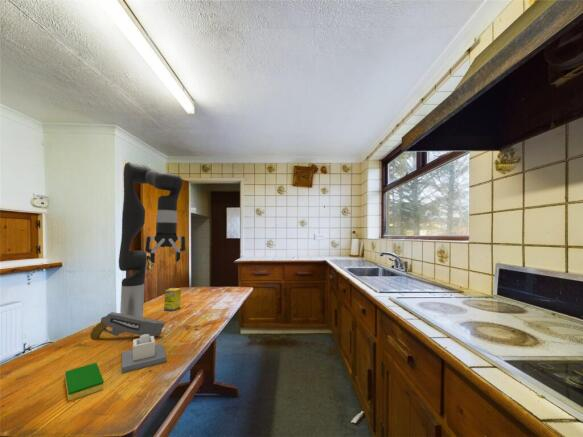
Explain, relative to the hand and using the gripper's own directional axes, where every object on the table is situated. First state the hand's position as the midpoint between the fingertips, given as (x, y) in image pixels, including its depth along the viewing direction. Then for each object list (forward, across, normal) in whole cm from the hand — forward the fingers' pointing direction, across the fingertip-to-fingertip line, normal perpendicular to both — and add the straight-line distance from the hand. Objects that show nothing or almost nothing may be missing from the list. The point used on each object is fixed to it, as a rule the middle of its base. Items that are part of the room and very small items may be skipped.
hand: (165, 262), depth 100 cm
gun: (+30, +12, -9) cm, 34 cm away
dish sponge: (+31, +22, +20) cm, 43 cm away
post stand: (+30, +7, +14) cm, 34 cm away
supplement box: (+30, -9, -41) cm, 52 cm away
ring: (+29, +7, +14) cm, 33 cm away
